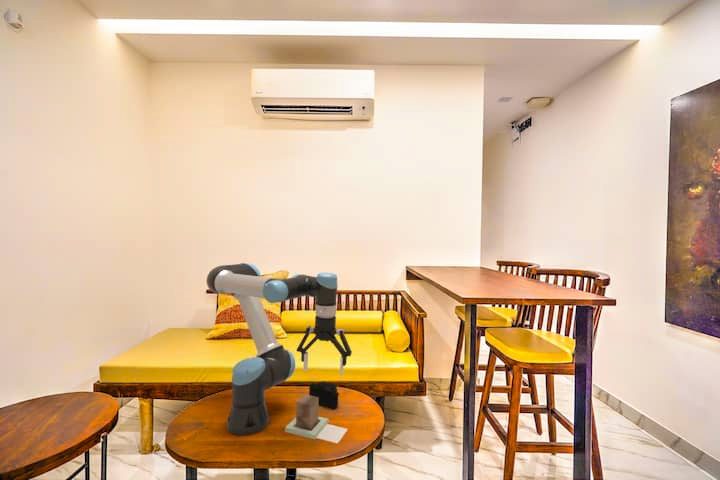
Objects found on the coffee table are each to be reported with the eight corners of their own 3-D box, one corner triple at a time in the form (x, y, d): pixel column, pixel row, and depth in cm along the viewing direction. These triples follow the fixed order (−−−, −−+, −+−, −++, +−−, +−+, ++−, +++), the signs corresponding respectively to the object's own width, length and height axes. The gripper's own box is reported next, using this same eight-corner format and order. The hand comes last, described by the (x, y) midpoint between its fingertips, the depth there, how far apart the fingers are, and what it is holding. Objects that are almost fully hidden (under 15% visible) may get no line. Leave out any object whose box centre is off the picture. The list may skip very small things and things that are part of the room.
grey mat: (314, 438, 119) (314, 437, 119) (326, 425, 127) (326, 423, 127) (337, 445, 115) (337, 443, 115) (347, 430, 124) (347, 429, 124)
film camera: (347, 401, 145) (347, 381, 145) (333, 411, 137) (334, 390, 136) (319, 392, 153) (320, 372, 153) (305, 401, 145) (305, 380, 144)
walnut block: (296, 431, 123) (296, 401, 123) (304, 422, 129) (304, 394, 128) (310, 434, 121) (310, 405, 121) (318, 425, 127) (318, 397, 126)
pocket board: (285, 432, 122) (285, 427, 122) (301, 417, 132) (301, 412, 132) (314, 440, 118) (314, 435, 118) (328, 424, 128) (328, 418, 128)
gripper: (289, 315, 121) (287, 373, 122) (358, 321, 118) (355, 379, 119) (295, 310, 128) (293, 364, 129) (360, 315, 125) (358, 370, 126)
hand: (323, 372), depth 124 cm, fingers open, 13 cm apart
